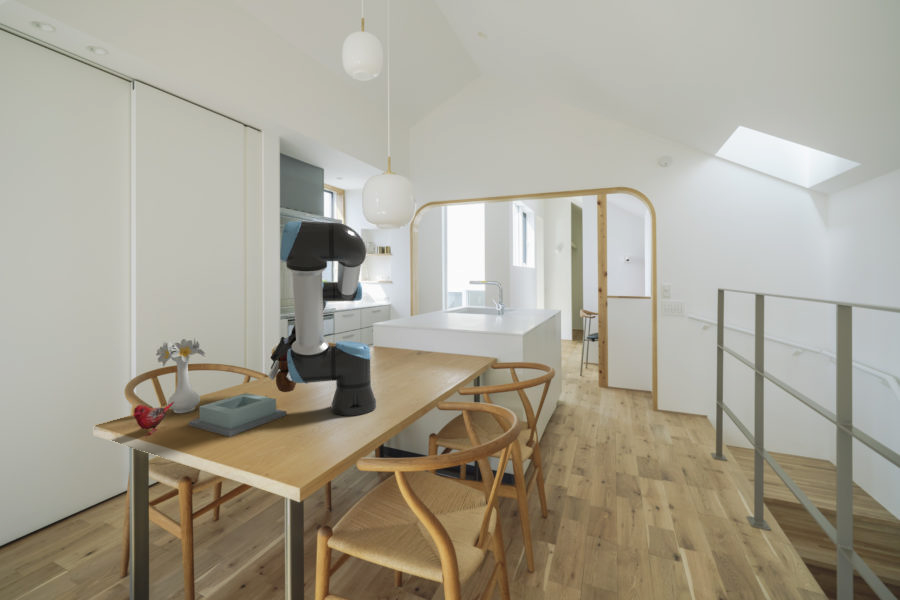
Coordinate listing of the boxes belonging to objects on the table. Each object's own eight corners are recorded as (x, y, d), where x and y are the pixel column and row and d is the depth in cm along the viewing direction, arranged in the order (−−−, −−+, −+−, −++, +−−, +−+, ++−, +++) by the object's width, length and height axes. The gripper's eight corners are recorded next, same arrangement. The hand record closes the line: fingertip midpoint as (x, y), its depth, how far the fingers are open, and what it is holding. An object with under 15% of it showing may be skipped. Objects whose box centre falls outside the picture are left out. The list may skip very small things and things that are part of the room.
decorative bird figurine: (129, 443, 109) (127, 408, 108) (170, 420, 127) (168, 389, 126) (140, 443, 109) (138, 408, 109) (179, 420, 127) (178, 389, 126)
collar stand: (286, 414, 131) (286, 398, 131) (229, 436, 113) (229, 417, 113) (247, 406, 140) (246, 390, 140) (188, 425, 122) (187, 407, 122)
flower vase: (182, 402, 145) (179, 334, 144) (218, 408, 139) (215, 337, 137) (144, 413, 133) (140, 340, 132) (181, 420, 126) (177, 343, 125)
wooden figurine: (299, 389, 143) (298, 348, 142) (288, 393, 137) (287, 351, 137) (284, 388, 145) (283, 347, 144) (273, 392, 140) (271, 350, 139)
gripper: (331, 333, 153) (309, 385, 138) (286, 332, 157) (260, 382, 142) (324, 320, 148) (300, 373, 133) (278, 320, 152) (250, 371, 137)
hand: (279, 378), depth 137 cm, fingers closed on wooden figurine, 6 cm apart
